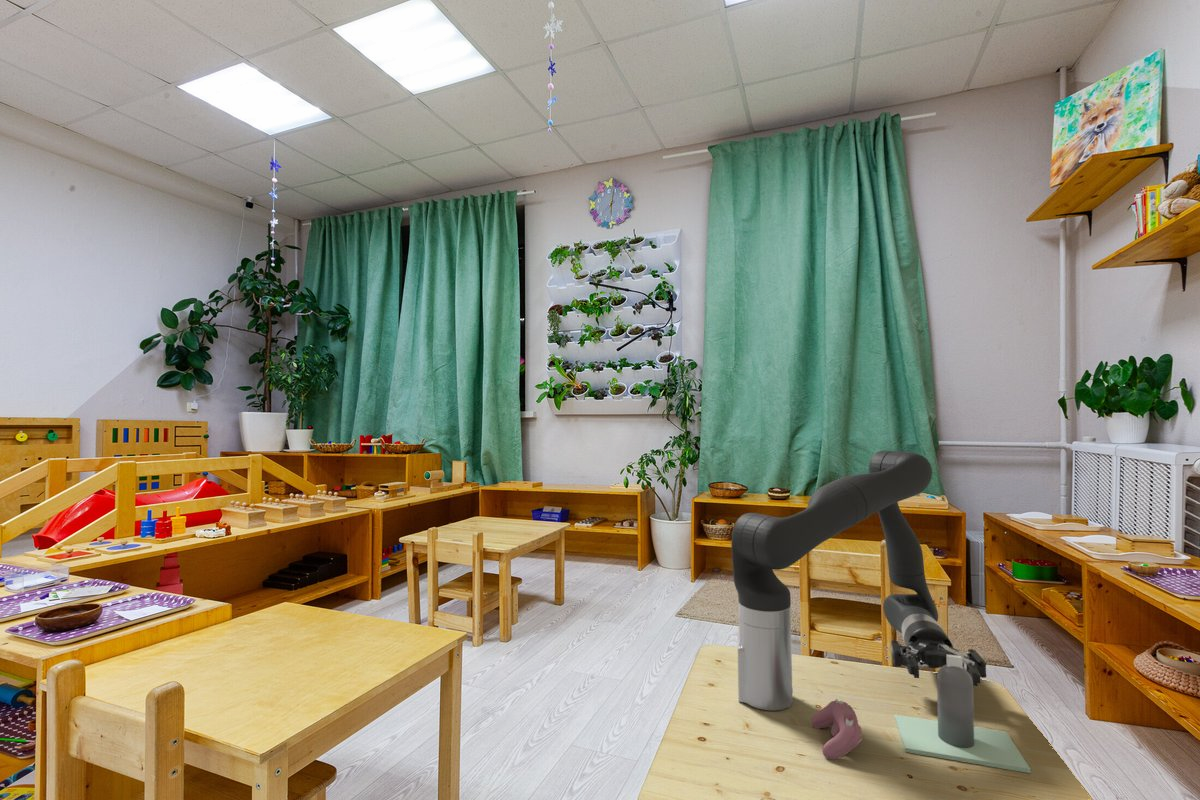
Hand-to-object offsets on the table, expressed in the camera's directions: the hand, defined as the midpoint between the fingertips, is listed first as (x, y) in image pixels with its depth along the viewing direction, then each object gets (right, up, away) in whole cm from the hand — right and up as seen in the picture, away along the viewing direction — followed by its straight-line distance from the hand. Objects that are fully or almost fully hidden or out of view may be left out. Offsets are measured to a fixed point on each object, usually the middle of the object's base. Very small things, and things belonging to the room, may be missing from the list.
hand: (945, 676), depth 94 cm
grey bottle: (-2, -7, -6) cm, 9 cm away
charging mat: (-2, -7, -6) cm, 10 cm away
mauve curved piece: (-21, -8, -6) cm, 23 cm away
